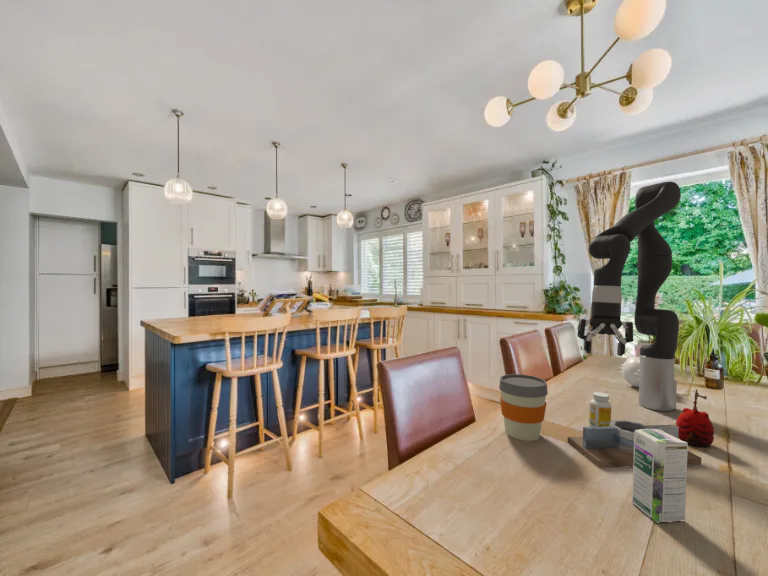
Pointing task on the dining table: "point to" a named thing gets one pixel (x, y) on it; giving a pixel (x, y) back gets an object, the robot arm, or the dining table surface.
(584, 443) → the grey winged octagonal holder
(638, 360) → the cat head
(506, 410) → the reusable coffee cup
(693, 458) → the board
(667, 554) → the dining table surface
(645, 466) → the syrup box
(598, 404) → the supplement bottle
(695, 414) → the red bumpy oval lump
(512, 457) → the dining table surface
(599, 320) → the robot arm
